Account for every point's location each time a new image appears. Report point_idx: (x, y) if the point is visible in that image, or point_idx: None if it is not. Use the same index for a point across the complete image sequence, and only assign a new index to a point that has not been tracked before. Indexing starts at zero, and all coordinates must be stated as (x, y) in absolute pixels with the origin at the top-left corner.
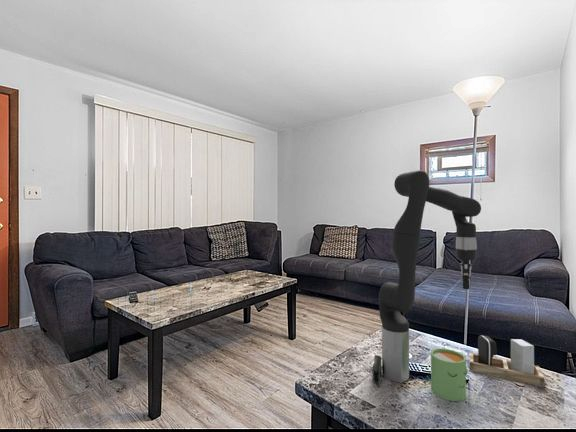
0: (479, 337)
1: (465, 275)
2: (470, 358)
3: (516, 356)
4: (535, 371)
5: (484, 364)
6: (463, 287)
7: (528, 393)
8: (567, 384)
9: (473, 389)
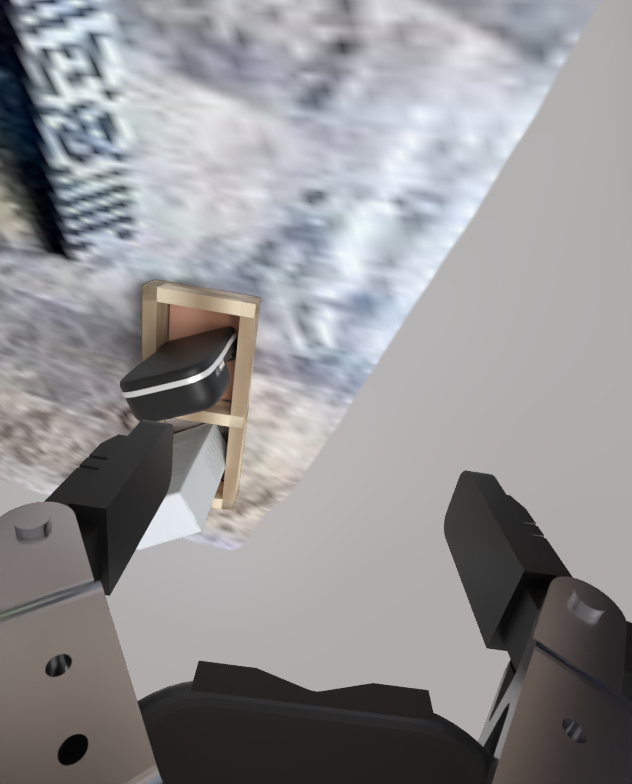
0: (186, 365)
1: (524, 613)
2: (187, 295)
3: None
4: (222, 489)
5: (153, 340)
6: (137, 430)
7: (84, 427)
8: (204, 537)
9: (2, 264)
